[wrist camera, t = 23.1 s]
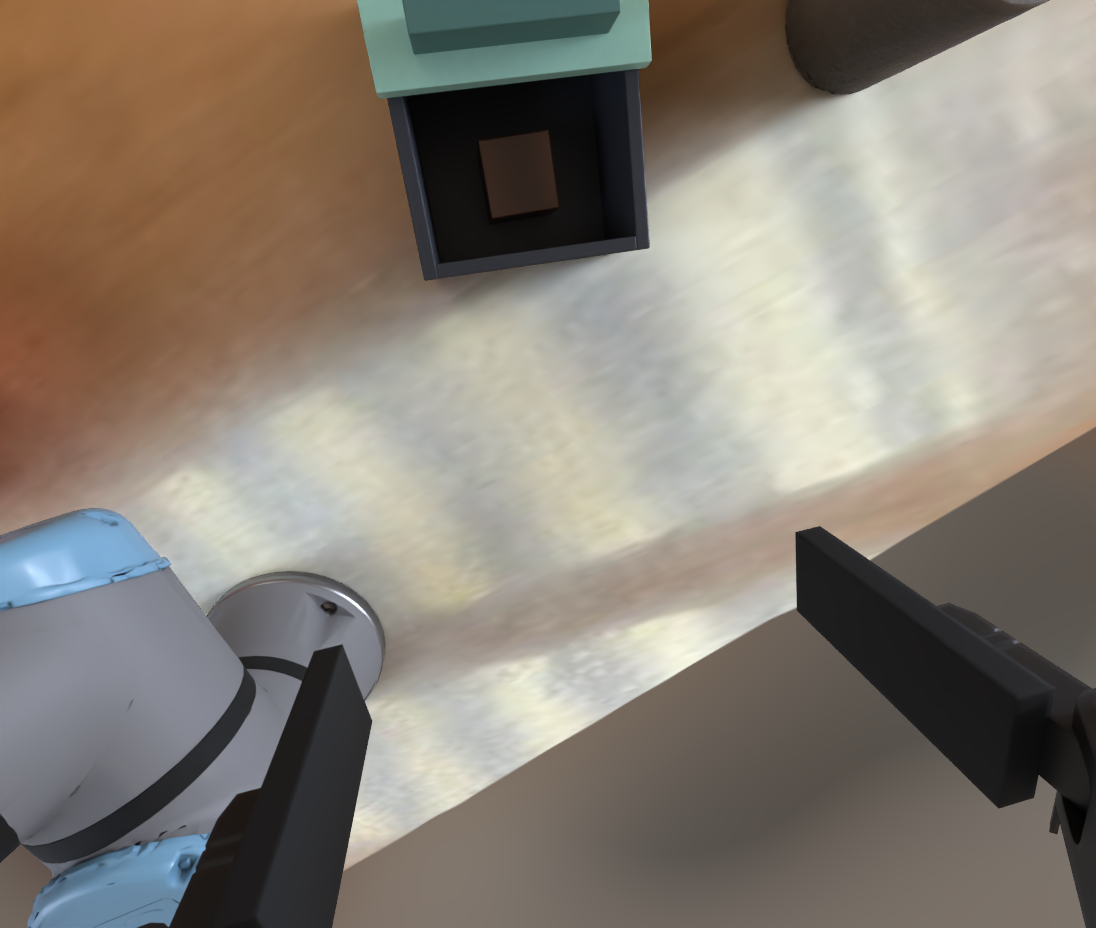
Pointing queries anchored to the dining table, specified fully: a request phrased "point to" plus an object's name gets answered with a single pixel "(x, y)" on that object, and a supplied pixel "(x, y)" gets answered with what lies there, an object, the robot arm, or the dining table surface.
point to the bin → (579, 163)
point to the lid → (499, 41)
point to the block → (518, 176)
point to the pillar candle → (883, 35)
